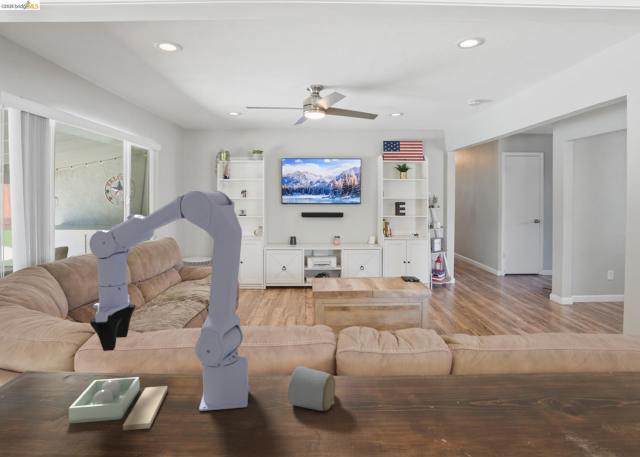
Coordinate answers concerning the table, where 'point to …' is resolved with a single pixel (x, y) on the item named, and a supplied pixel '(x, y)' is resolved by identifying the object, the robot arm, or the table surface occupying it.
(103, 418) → the tub
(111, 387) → the white ball
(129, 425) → the oak board
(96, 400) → the pebble
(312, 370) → the grey cylinder tan end
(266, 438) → the table surface
